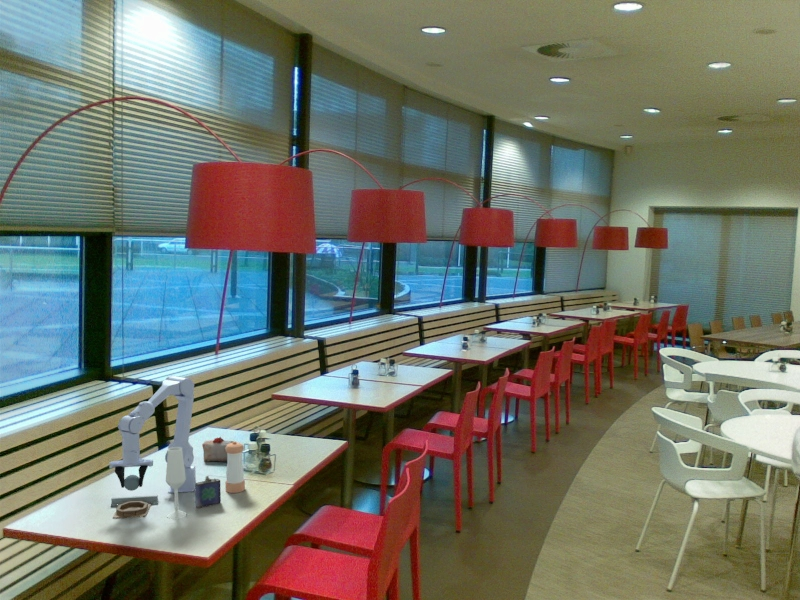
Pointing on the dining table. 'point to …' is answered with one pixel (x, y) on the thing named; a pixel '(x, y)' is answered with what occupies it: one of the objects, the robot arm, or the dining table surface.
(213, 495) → the flask
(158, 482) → the dining table surface
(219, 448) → the food item
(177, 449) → the champagne flute
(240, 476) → the pepper shaker
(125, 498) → the grey bar
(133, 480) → the ball
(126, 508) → the ring cradle
